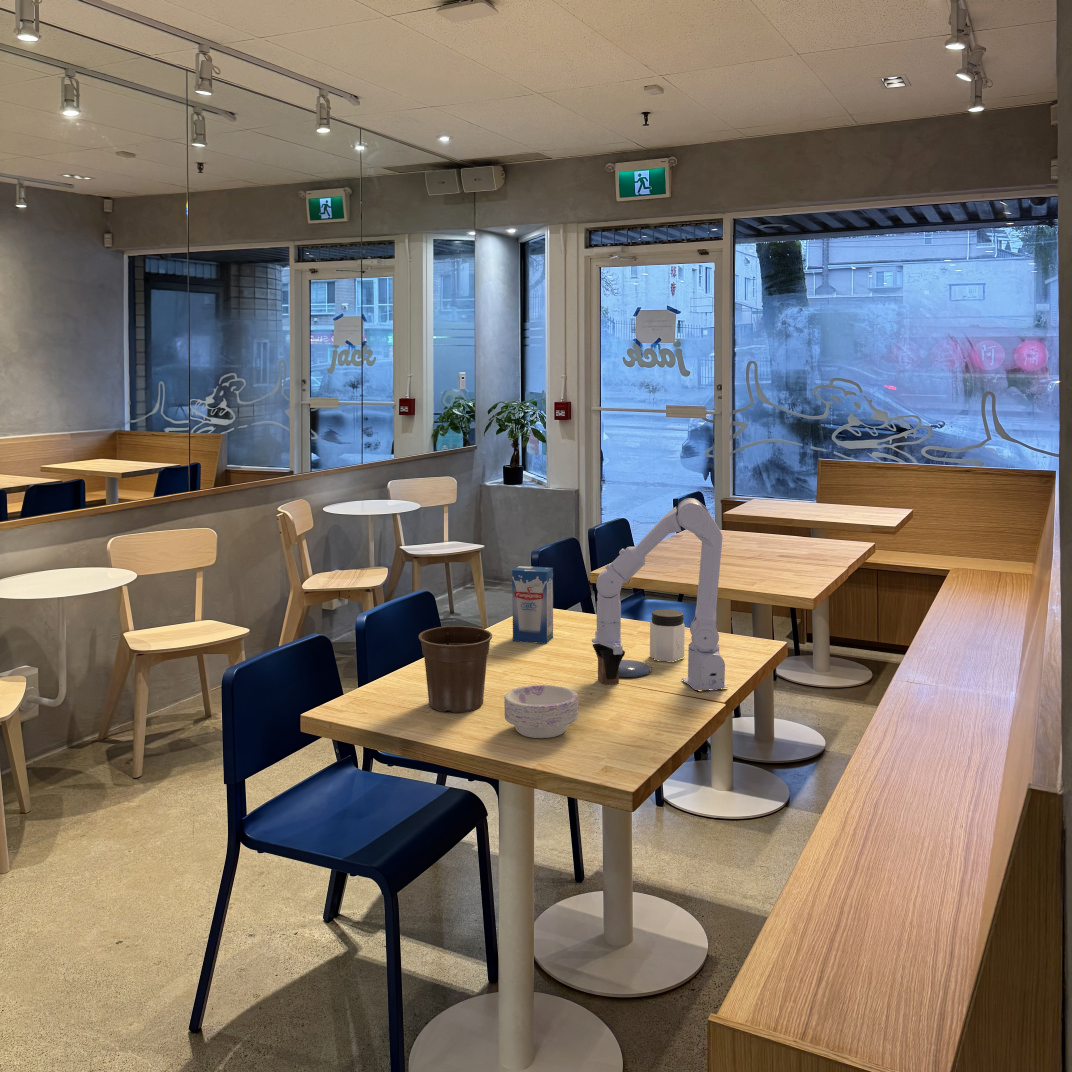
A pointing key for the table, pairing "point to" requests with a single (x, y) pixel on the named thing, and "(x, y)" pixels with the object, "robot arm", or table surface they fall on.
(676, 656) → the jar
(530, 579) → the milk carton
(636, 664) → the blue-grey round disc
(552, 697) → the paper bowls
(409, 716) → the table surface
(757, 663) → the table surface
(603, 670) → the walnut block
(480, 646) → the plant pot
